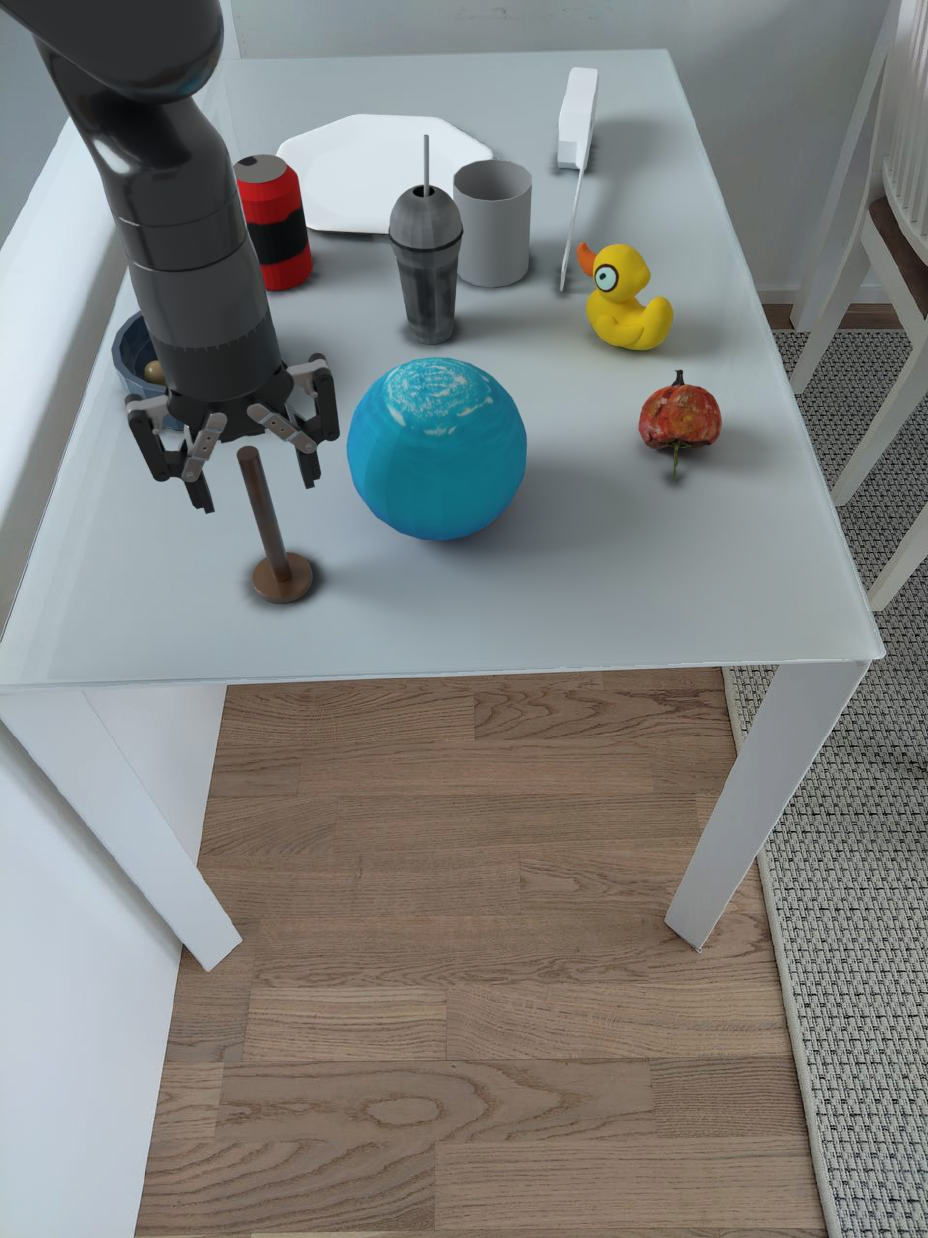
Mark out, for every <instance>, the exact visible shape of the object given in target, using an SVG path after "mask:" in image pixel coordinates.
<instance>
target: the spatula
mask: <svg viewBox="0 0 928 1238" xmlns="http://www.w3.org/2000/svg"><path fill="white" fill-rule="evenodd" d="M567 79H568V80H567V86H566V91H565V93H564V97H563V100H562V105H561V108H560V113H559V115H558V142H557V159H556V163H557V167H558V168H559V169H572V170H573V169H574V170H579V173H578V175H579V176H578V180H577V184H576V185H577V186H576V191H575V197H574V202H573V207H572V211H571V218H570V223H569V228H568V234H567V238H566V244H565V250H564V254H563V259H562V263H561V264H562V265H561V271H560V272H561V273H560V286H559V291H560V292H563V290H564V287H565V285H564V284H565V279H566V274H567V268H568V262H569V257H570V250H571V245H572V239H573V235H574V229H575V223H576V217H577V212H578V206H579V201H580V196H581V190H582V186H583V185H582V184H583V179H584V175H585V174H584V173H585V171H587V167H588V163H589V156H590V150H591V145H592V139H593V133H594V126H595V118H596V112H597V105H598V95H599V85H600V74H599V69H598V68H592V67H591V68H590V67H577V66H576V67H575V66H574V67H572V69H571V70H570V71H569V74H568V78H567Z"/></svg>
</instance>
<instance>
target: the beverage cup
mask: <svg viewBox="0 0 928 1238" xmlns="http://www.w3.org/2000/svg"><path fill="white" fill-rule="evenodd" d="M388 232H389V236H388V238H389V240H390V243H391V247H392V250H393V253H394V256H395V258H396V263H397V269H398V274H399V280H400V285H401V292H402V296H403V303H404V307H405V313H406V319H407V323H408V327H409V330H410V336H411V337H412V339H414V340H415V341H416V342H418V343H419V344H420V343H421V344H424V345H438V344H441V343H444V342H446V341H447V340H449V339H450V338H451V337H452V335H453V333H454V330H453V327H454V322H455V315H456V314H455V312H456V298H457V285H458V283H457V282H458V273H457V270H458V255H459V251H460V247H461V242H462V235H463V233H464V231H463V225H462V222H461V216H460V212H459V209H458V207H457V205H456V204H455V202H454V201H453V199H452V198H451V197H450V196H449V195H448V194H447V193H446V192H445V191H443V190H442V189H440V188H438V187H435V186H432V185H429V135H424V185H417V186H414V187H412V188H410V189H408V190H406V191H405V192H404V193H403V194H402V195H401V196H400V197H399V198H398V199H397V201H396V203H395V205H394V207H393V209H392V212H391V215H390V226H389V230H388Z"/></svg>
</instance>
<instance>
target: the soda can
mask: <svg viewBox="0 0 928 1238" xmlns="http://www.w3.org/2000/svg"><path fill="white" fill-rule="evenodd" d="M233 167H234V171H235V175H236V179H237V184H238V188H239V193H240V197H241V201H242V206H243V210H244V215H245V219H246V224H247V228H248V232H249V235H250V238H251V240H252V243H253V245H254V248H255V251H256V254H257V256H258V260H259V263H260V267H261V271H262V274H263V277H264V285H265V290H266V291H274V292H279V291H286V290H291V289H294V288H296V287H298V286H300V285H302V284H304V283H305V282H306V281H307V280H308V279H309V277H310V275H311V274H312V273H313V270H314V267H313V266H314V264H313V257H312V251H311V246H310V245H311V244H310V239H309V233H308V228H307V227H306V221H305V215H304V209H303V203H302V197H301V191H300V185H299V179H298V175H297V173H296V172H295V171H294V170H293V169H292V168H291V167H290V166H289V165H288V164H286V162H285V161H284V160H283V159H281V158H279V157H277V156H276V155H273V154H253V155H249V156H245V157H243V158H242V159H240V160H238V161H237V162H235V163H234V164H233Z"/></svg>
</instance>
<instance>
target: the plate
mask: <svg viewBox="0 0 928 1238" xmlns="http://www.w3.org/2000/svg"><path fill="white" fill-rule="evenodd" d="M424 135H429V185H432V186H435V187H438V188H440V189H442V190H443V191H445V192H446V193H447V194H448V195H449V196H450V197H451V198H452V199H453V175H454V174H455V173H456V172H457V171H458V170H459V169H460V168H461V167H462V166H465V165H467V164H470V163H472V162H475V161H481V160H489V159H494V153H493V150H492V149H491V148H489V147H488V146H486V145H485V144H483V143H482V142H480V141H479V140H477V139H475V138H474V137H473V136H470V135H469V134H468V133H465V132H464V131H462V130H460V129H459V128H457V127H455V126H454V125H453V124H451V123H449V122H448V121H447V120H444V119H443V118H440V117H436V116H423V115H396V114H375V113H374V114H372V113H358V114H356V113H355V114H351V115H348V116H345V117H343V118H339V119H338V120H335V121H332V122H330V123H327V124H325V125H322V126H319V127H317V128H314V129H312V130H309V131H306V132H303V133H301V134H298V135H295V136H293V137H290V138H288V139H286V140H285V141H284V142H282V143H281V144H280V145H279V148H278V150H277V152H276V155H275V156H277V157H279V158H281V159H283V160H284V161H285V162H286V164H288V165H289V166H290V167H291V168H292V169H293V170H294V171H295V172H296V173H297V175H298V179H299V185H300V191H301V197H302V203H303V209H304V215H305V221H306V227H307V230H310V231H314V232H317V233H329V234H347V235H349V234H350V235H367V236H369V235H370V236H385V237H386V236H387V237H389V232H388V230H389V226H390V215H391V212H392V209H393V207H394V205H395V203H396V201H397V199H398V198H399V197H400V196H401V195H402V194H403V193H404V192H405V191H406V190H408V189H410V188H412V187H414V186H417V185H424Z"/></svg>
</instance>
